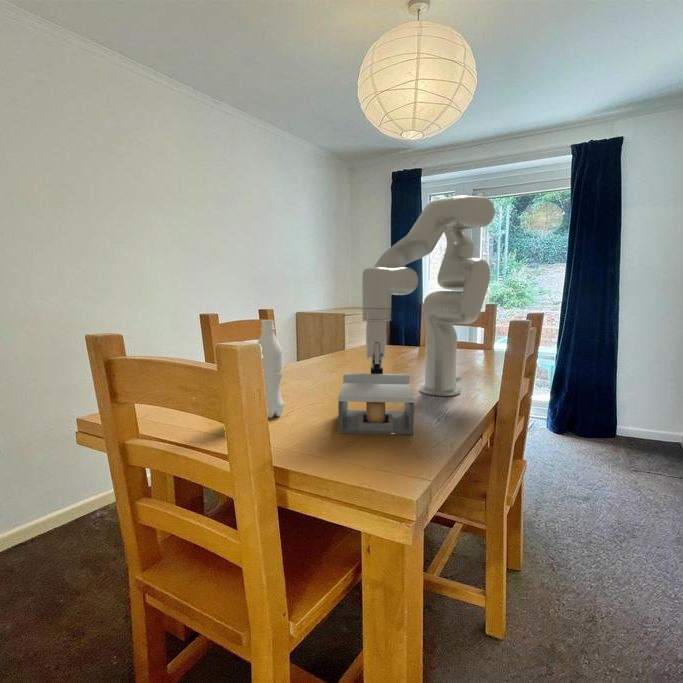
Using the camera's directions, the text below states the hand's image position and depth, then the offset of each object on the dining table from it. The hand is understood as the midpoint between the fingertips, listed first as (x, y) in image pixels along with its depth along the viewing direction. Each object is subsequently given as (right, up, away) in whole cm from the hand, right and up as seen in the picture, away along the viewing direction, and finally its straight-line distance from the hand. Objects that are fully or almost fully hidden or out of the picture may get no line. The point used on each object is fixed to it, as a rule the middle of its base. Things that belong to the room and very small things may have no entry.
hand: (376, 382), depth 111 cm
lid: (-1, -2, -11) cm, 11 cm away
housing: (-1, -9, -10) cm, 14 cm away
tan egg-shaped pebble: (-1, -9, -14) cm, 16 cm away
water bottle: (-28, -8, -4) cm, 30 cm away
